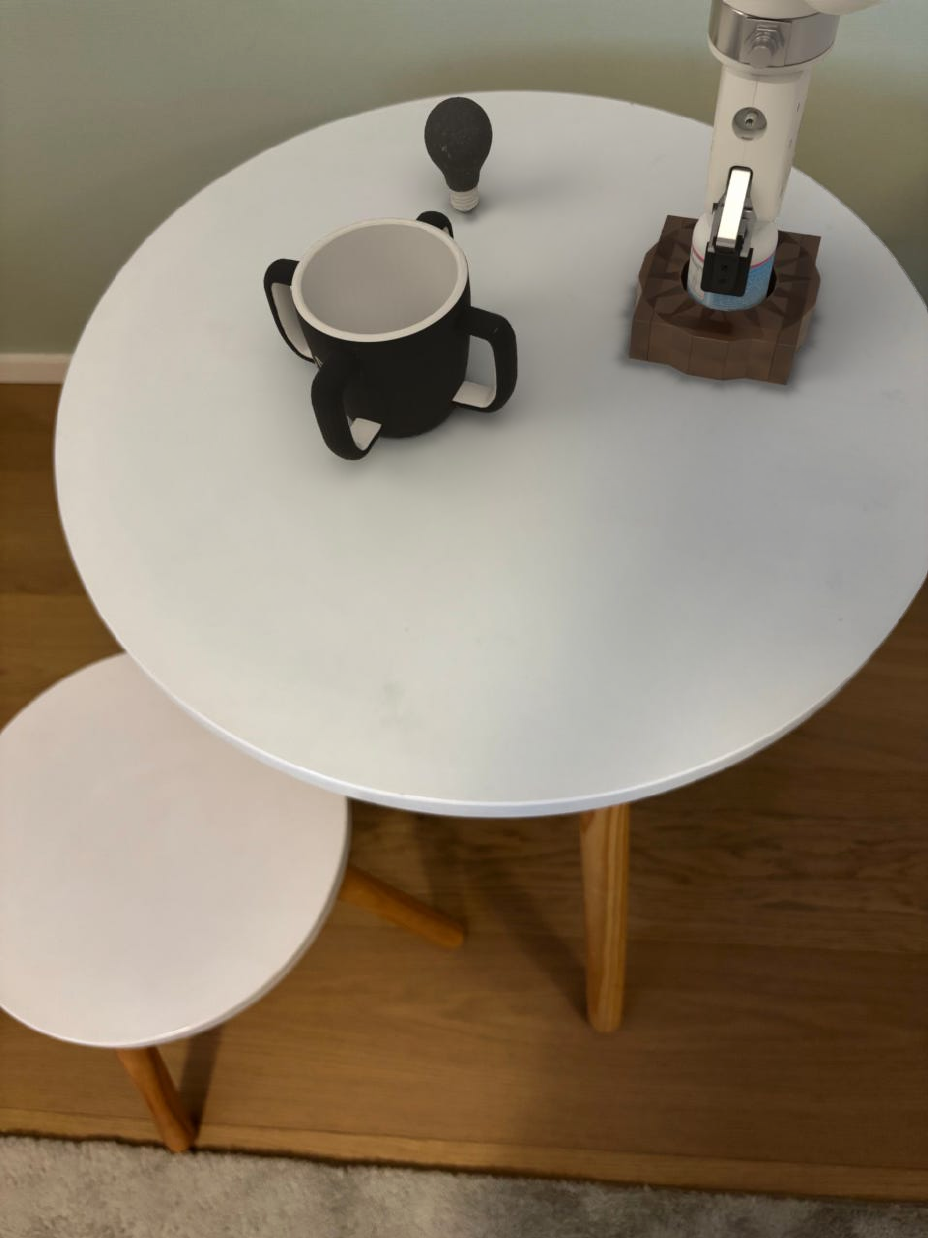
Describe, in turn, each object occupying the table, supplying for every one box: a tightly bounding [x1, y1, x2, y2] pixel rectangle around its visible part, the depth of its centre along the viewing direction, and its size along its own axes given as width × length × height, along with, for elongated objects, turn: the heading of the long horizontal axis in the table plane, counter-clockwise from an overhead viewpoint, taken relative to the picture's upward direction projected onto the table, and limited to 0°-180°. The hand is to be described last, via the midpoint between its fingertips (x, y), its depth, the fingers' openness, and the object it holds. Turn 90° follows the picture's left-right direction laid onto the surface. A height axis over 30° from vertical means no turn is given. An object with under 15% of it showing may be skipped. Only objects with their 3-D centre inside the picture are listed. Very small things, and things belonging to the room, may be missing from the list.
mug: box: [262, 210, 519, 461], centre depth 75 cm, size 16×16×12 cm
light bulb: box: [423, 96, 494, 213], centre depth 87 cm, size 6×6×10 cm
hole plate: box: [629, 214, 822, 386], centre depth 80 cm, size 13×13×4 cm
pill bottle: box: [686, 195, 779, 311], centre depth 77 cm, size 6×6×11 cm
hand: (732, 255), depth 77 cm, fingers open, 6 cm apart
